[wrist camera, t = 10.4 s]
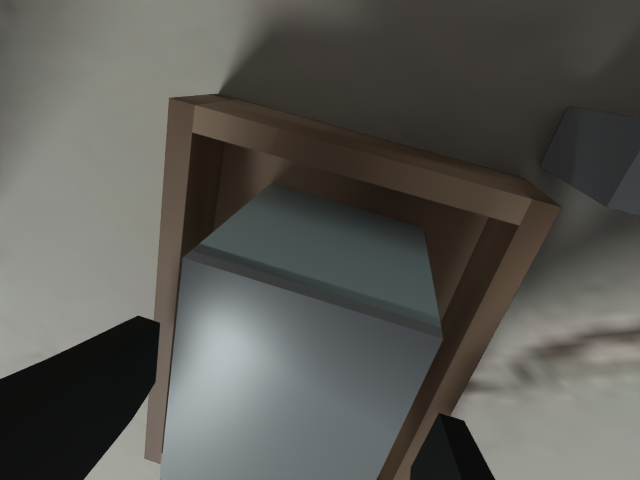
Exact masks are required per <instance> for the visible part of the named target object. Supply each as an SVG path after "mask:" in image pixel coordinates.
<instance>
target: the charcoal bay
mask: <svg viewBox="0 0 640 480" xmlns="http://www.w3.org/2000/svg"><path fill="white" fill-rule="evenodd" d="M540 167H542V168H544V169H545V170H547V171H548V172H550V173H552V174H553V175H555V176H557V177H558V178H560V179H562V180H563V181H565V182H566V183H568V184H570V185H571V186H573V187H575V188H576V189H578V190H580V191H581V192H583V193H584V194H586V195H588V196H589V197H591V198H593V199H594V200H596V201H597V202H599V203H601V204H602V205H604V206H606V207H608V208H612V209H616V210H619V211H623V212H626V213H630V214H634V215H637V216H640V118H637V117H630V116H624V115H618V114H612V113H606V112H600V111H594V110H587V109H581V108H575V107H569V106H568V108H567V110H566V112H565V114H564V116H563V119H562V121H561V123H560V125H559V127H558V129H557V131H556V133H555V135H554V137H553V139H552V141H551V143H550V145H549V147H548V149H547V151H546V153H545V156H544V158H543V160H542V162H541V164H540Z"/></svg>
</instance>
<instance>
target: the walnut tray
mask: <svg viewBox="0 0 640 480" xmlns="http://www.w3.org/2000/svg"><path fill="white" fill-rule="evenodd" d="M271 183H273V184H276V185H280V186H283V187H286V188H290V189H293V190H297V191H300V192H303V193H307V194H310V195H314V196H317V197H321V198H324V199H327V200H331V201H334V202H338V203H341V204H344V205H348V206H351V207H355V208H358V209H361V210H365V211H368V212H372V213H375V214H379V215H382V216H385V217H389V218H392V219H396V220H399V221H402V222H406V223H409V224H413V225H416V226H420V227H423V229H424V235H425V240H426V246H427V252H428V257H429V263H430V268H431V274H432V279H433V285H434V290H435V296H436V301H437V307H438V312H439V318H440V323H441V329H442V334H443V340H442V343H441V345H440V347H439V349H438V351H437V353H436V355H435V357H434V359H433V362H432V364H431V366H430V368H429V370H428V372H427V374H426V376H425V378H424V381H423V383H422V385H421V387H420V389H419V391H418V393H417V395H416V397H415V400H414V402H413V404H412V406H411V408H410V410H409V412H408V414H407V416H406V419H405V421H404V423H403V425H402V427H401V429H400V431H399V433H398V435H397V438H396V440H395V442H394V444H393V446H392V448H391V450H390V452H389V454H388V457H387V459H386V461H385V463H384V465H383V467H382V469H381V471H380V473H379V475H378V478H377V480H410V470H411V466H412V464H413V462H414V460H415V458H416V456H417V454H418V452H419V450H420V448H421V446H422V444H423V443H424V441H425V439H426V437H427V435H428V433H429V431H430V429H431V427H432V425H433V423H434V421H435V419H436V417H437V415H438V413H441V414H444V415H448V416H450V415H451V413H452V411H453V409H454V408H455V406H456V404H457V402H458V400H459V398H460V396H461V395H462V393H463V391H464V389H465V387H466V385H467V383H468V381H469V380H470V378H471V376H472V374H473V372H474V370H475V368H476V367H477V365H478V363H479V361H480V359H481V357H482V355H483V353H484V352H485V350H486V348H487V346H488V344H489V342H490V340H491V339H492V337H493V335H494V333H495V331H496V329H497V327H498V325H499V324H500V322H501V320H502V318H503V316H504V314H505V312H506V311H507V309H508V307H509V305H510V303H511V301H512V299H513V297H514V296H515V294H516V292H517V290H518V288H519V286H520V284H521V283H522V281H523V279H524V277H525V275H526V273H527V271H528V269H529V268H530V266H531V264H532V262H533V260H534V258H535V256H536V255H537V253H538V251H539V249H540V247H541V245H542V243H543V241H544V240H545V238H546V236H547V234H548V232H549V230H550V228H551V227H552V225H553V223H554V221H555V219H556V217H557V215H558V213H559V212H560V210H561V208H562V207H561V206H559V205H558V204H557V203H555V202H554V201H553V200H552V199H550V198H549V197H548V196H546V195H545V194H544V193H543V192H541V191H540V190H539V189H537V188H536V187H535V186H534V185H532V184H531V183H530V182H528V181H527V180H526V179H525V178H521V177H517V176H514V175H510V174H506V173H503V172H499V171H495V170H492V169H488V168H485V167H481V166H477V165H474V164H470V163H466V162H463V161H459V160H456V159H452V158H448V157H445V156H441V155H437V154H434V153H430V152H427V151H423V150H419V149H416V148H412V147H408V146H405V145H401V144H398V143H394V142H390V141H387V140H383V139H379V138H376V137H372V136H368V135H365V134H361V133H358V132H354V131H350V130H347V129H343V128H339V127H336V126H332V125H329V124H325V123H321V122H318V121H314V120H310V119H307V118H303V117H300V116H296V115H292V114H289V113H285V112H281V111H278V110H274V109H271V108H267V107H263V106H260V105H256V104H252V103H249V102H245V101H241V100H238V99H234V98H231V97H227V96H223V95H220V94H209V95H197V96H186V97H174V98H169V108H168V123H167V138H166V152H165V167H164V181H163V196H162V210H161V225H160V239H159V254H158V268H157V283H156V297H155V312H154V321H156V322H160V334H159V347H158V359H157V372H156V382H155V384H154V386H153V387H152V389H151V391H150V392H149V399H148V413H147V428H146V442H145V457H144V459H147V460H150V461H153V462H156V463H159V464H162V455H163V445H164V435H165V426H166V416H167V406H168V396H169V387H170V377H171V367H172V358H173V348H174V338H175V328H176V319H177V309H178V299H179V289H180V280H181V270H182V260H183V257H184V256H185V255H186V254H188V253H189V252H190V251H191V250H192V249H194V248H195V247H196V246H197V245H198V244H200V243H201V242H202V241H203V240H204V239H205V238H207V237H208V236H209V235H210V234H211V233H213V232H214V231H215V230H216V229H217V228H219V227H220V226H221V225H222V224H223V223H225V222H226V221H227V220H228V219H229V218H230V217H232V216H233V215H234V214H235V213H236V212H238V211H239V210H240V209H241V208H242V207H244V206H245V205H246V204H247V203H248V202H250V201H251V200H252V199H253V198H254V197H255V196H257V195H258V194H259V193H260V192H261V191H263V190H264V189H265V188H266V187H267V186H269V185H270V184H271Z"/></svg>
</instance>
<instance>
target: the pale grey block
mask: <svg viewBox="0 0 640 480" xmlns="http://www.w3.org/2000/svg"><path fill="white" fill-rule="evenodd" d="M442 340H443V334H442V329H441V323H440V318H439V312H438V307H437V301H436V296H435V290H434V285H433V279H432V274H431V268H430V263H429V257H428V252H427V246H426V240H425V235H424V229H423V227H420V226H416V225H413V224H409V223H406V222H402V221H399V220H396V219H392V218H389V217H385V216H382V215H379V214H375V213H372V212H368V211H365V210H361V209H358V208H355V207H351V206H348V205H344V204H341V203H338V202H334V201H331V200H327V199H324V198H321V197H317V196H314V195H310V194H307V193H303V192H300V191H297V190H293V189H290V188H286V187H283V186H280V185H276V184H273V183H271V184H270V185H269V186H267V187H266V188H265V189H264V190H263V191H261V192H260V193H259V194H258V195H257V196H255V197H254V198H253V199H252V200H251V201H250V202H248V203H247V204H246V205H245V206H244V207H242V208H241V209H240V210H239V211H238V212H236V213H235V214H234V215H233V216H232V217H230V218H229V219H228V220H227V221H226V222H225V223H223V224H222V225H221V226H220V227H219V228H217V229H216V230H215V231H214V232H213V233H211V234H210V235H209V236H208V237H207V238H205V239H204V240H203V241H202V242H201V243H200V244H198V245H197V246H196V247H195V248H194V249H192V250H191V251H190V252H189V253H188V254H186V255H185V256H184V257H183V260H182V270H181V280H180V289H179V299H178V309H177V319H176V328H175V338H174V348H173V358H172V367H171V377H170V387H169V396H168V406H167V416H166V426H165V435H164V445H163V455H162V464H161V474H160V480H377V478H378V475H379V473H380V471H381V469H382V467H383V465H384V463H385V461H386V459H387V457H388V454H389V452H390V450H391V448H392V446H393V444H394V442H395V440H396V438H397V435H398V433H399V431H400V429H401V427H402V425H403V423H404V421H405V419H406V416H407V414H408V412H409V410H410V408H411V406H412V404H413V402H414V400H415V397H416V395H417V393H418V391H419V389H420V387H421V385H422V383H423V381H424V378H425V376H426V374H427V372H428V370H429V368H430V366H431V364H432V362H433V359H434V357H435V355H436V353H437V351H438V349H439V347H440V345H441V343H442Z"/></svg>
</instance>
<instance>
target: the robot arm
mask: <svg viewBox="0 0 640 480" xmlns="http://www.w3.org/2000/svg"><path fill="white" fill-rule="evenodd" d="M159 334H160V322H156V321H153V320H150V319H147V318H144V317H141V316H136V317H134V318H132V319H130V320H128V321H126V322H124V323H121V324H119V325H117V326H115V327H113V328H111V329H109V330H107V331H105V332H103V333H101V334H99V335H97V336H95V337H93V338H91V339H89V340H87V341H84V342H82V343H80V344H78V345H76V346H74V347H72V348H70V349H68V350H65V351H63V352H61V353H59V354H57V355H55V356H53V357H50V358H48V359H46V360H44V361H42V362H39V363H37V364H35V365H32V366H30V367H28V368H25V369H23V370H21V371H18V372H16V373H14V374H11V375H9V376H7V377H4V378H2V379H0V480H84V478H85V477H86V476H87V475H88V474H89V472H90V471H91V470H92V469H93V467H94V466H95V465H96V464H97V462H98V461H99V460H100V459H101V458H102V456H103V455H104V454H105V453H106V451H107V450H108V449H109V448H110V446H111V445H112V444H113V443H114V441H115V440H116V439H117V438H118V436H119V435H120V434H121V433H122V431H123V430H124V429H125V428H126V426H127V425H128V424H129V423H130V421H131V420H132V419H133V417H134V416H135V414H136V413H137V411H138V409H139V408H140V406H141V405H142V403H143V402H144V400H145V399H146V397H147V395H148V394H149V392H150V391H151V389H152V387H153V386H154V384H155V382H156V372H157V359H158V347H159ZM410 480H495V479H494V477H493V475H492V473H491V471H490V469H489V467H488V465H487V463H486V462H485V460H484V458H483V456H482V454H481V452H480V450H479V448H478V446H477V444H476V443H475V441H474V439H473V437H472V435H471V433H470V431H469V429H468V427H467V426H466V424H465V422H464V421H463V420H460V419H457V418H454V417H451V416H448V415H444V414H441V413H438V415H437V417H436V419H435V421H434V423H433V425H432V427H431V429H430V431H429V433H428V435H427V437H426V439H425V441H424V443H423V444H422V446H421V448H420V450H419V452H418V454H417V456H416V458H415V460H414V462H413V464H412V466H411V470H410Z"/></svg>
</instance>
